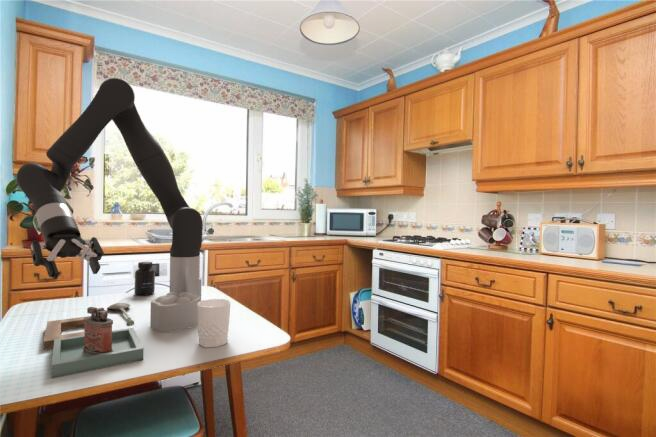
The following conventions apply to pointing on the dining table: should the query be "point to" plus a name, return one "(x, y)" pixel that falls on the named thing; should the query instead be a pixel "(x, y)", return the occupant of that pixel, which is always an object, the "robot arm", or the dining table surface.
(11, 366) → the dining table surface
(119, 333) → the tray
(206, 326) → the white cup
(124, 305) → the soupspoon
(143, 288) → the supplement bottle
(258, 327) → the dining table surface
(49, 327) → the holder
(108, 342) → the lighter
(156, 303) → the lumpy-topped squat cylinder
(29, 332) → the dining table surface
